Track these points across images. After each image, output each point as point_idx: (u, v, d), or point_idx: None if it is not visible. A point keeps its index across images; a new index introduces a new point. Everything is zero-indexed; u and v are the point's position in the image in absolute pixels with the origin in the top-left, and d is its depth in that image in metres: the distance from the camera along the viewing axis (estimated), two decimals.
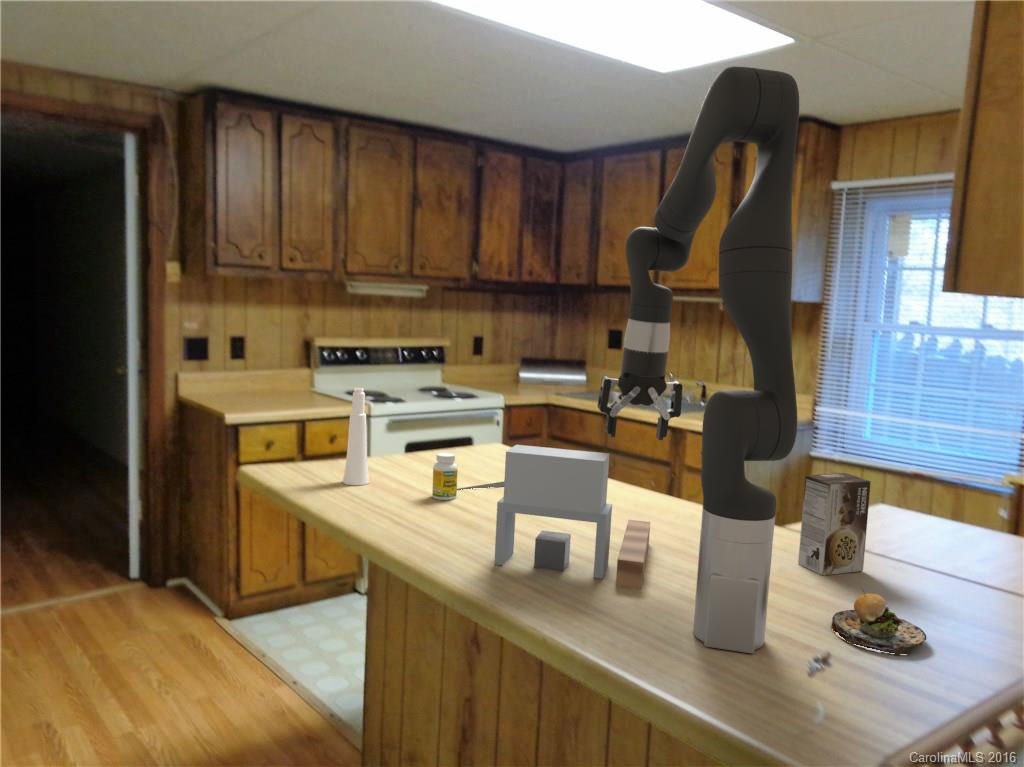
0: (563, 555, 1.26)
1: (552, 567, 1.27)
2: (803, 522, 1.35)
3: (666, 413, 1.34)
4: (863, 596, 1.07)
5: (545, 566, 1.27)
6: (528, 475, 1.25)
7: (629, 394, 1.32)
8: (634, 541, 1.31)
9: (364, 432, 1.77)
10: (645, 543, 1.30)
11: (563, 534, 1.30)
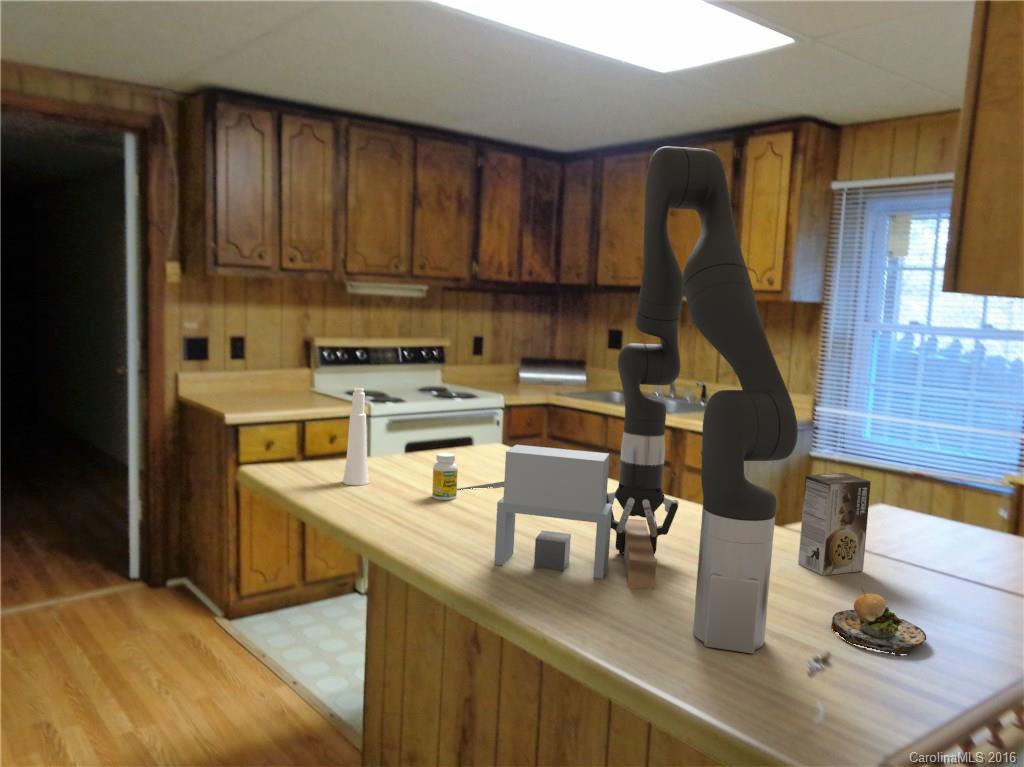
0: (563, 555, 1.26)
1: (552, 567, 1.27)
2: (803, 522, 1.35)
3: (654, 530, 1.34)
4: (863, 596, 1.07)
5: (545, 566, 1.27)
6: (528, 475, 1.25)
7: (626, 507, 1.34)
8: (638, 540, 1.30)
9: (364, 432, 1.77)
10: (649, 542, 1.30)
11: (563, 534, 1.30)
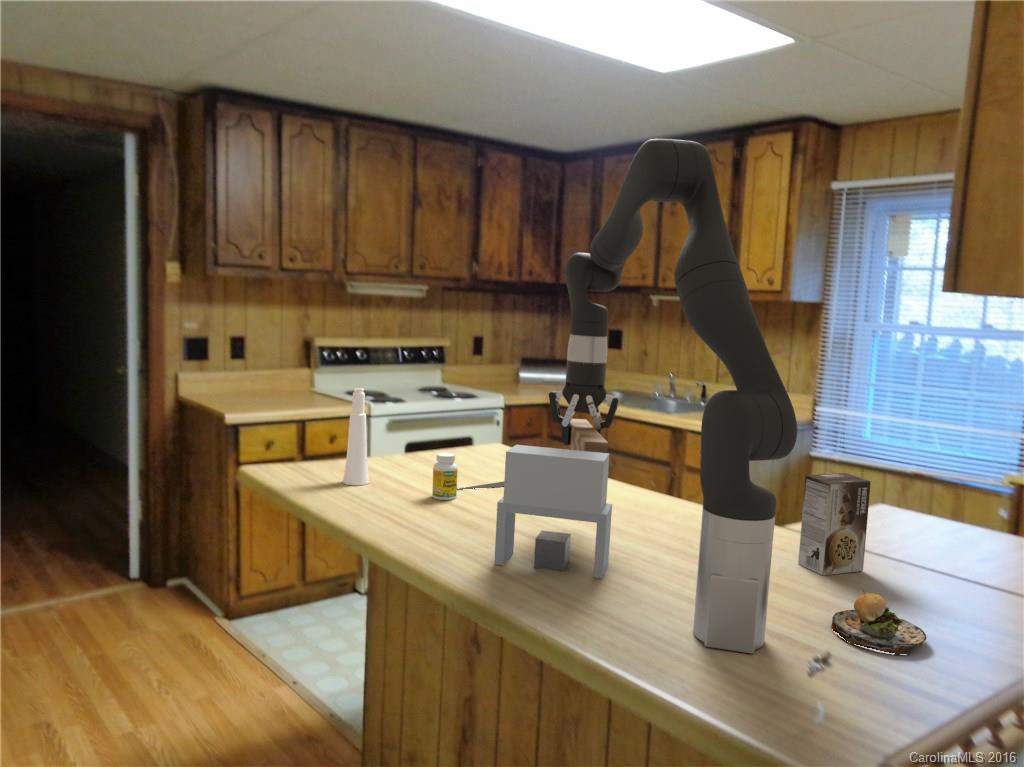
0: (563, 555, 1.26)
1: (552, 567, 1.27)
2: (803, 522, 1.35)
3: (598, 423, 1.47)
4: (863, 596, 1.07)
5: (545, 566, 1.27)
6: (528, 475, 1.25)
7: (571, 403, 1.48)
8: (586, 430, 1.44)
9: (364, 432, 1.77)
10: (596, 431, 1.43)
11: (563, 534, 1.30)
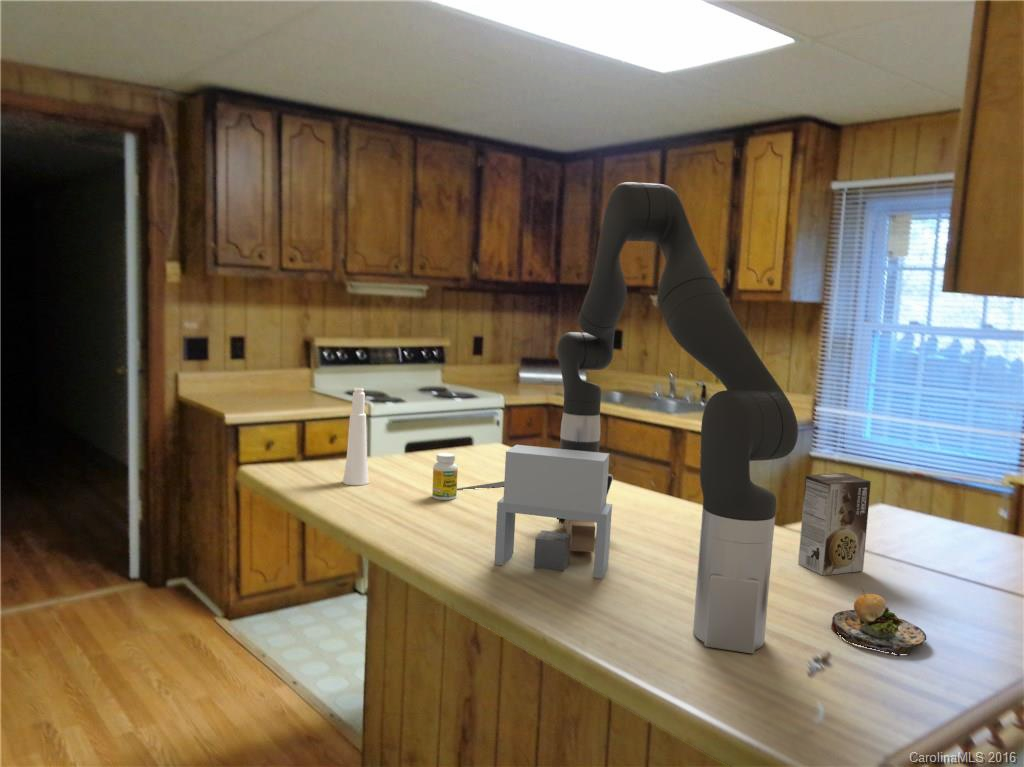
0: (563, 555, 1.26)
1: (552, 567, 1.27)
2: (803, 522, 1.35)
3: None
4: (863, 596, 1.07)
5: (545, 566, 1.27)
6: (528, 475, 1.25)
7: None
8: None
9: (364, 432, 1.77)
10: None
11: (563, 534, 1.30)
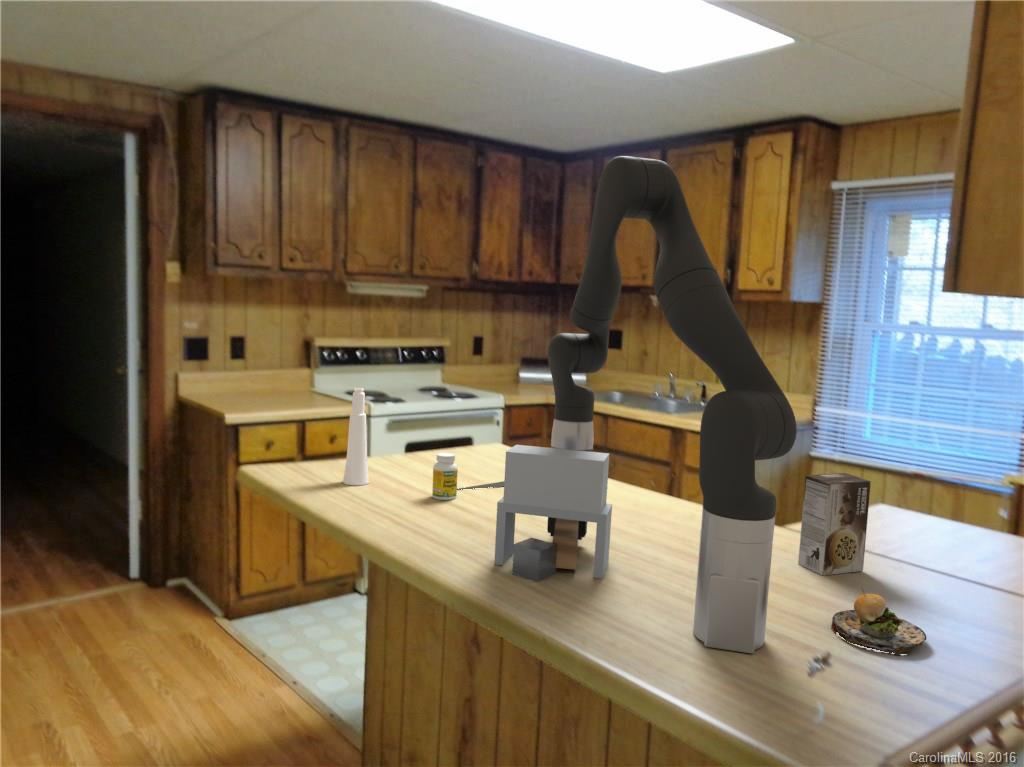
0: (537, 564, 1.21)
1: (528, 576, 1.22)
2: (803, 522, 1.35)
3: None
4: (863, 596, 1.07)
5: (522, 574, 1.22)
6: (528, 475, 1.25)
7: None
8: (566, 523, 1.35)
9: (364, 432, 1.77)
10: (577, 525, 1.34)
11: (548, 543, 1.24)
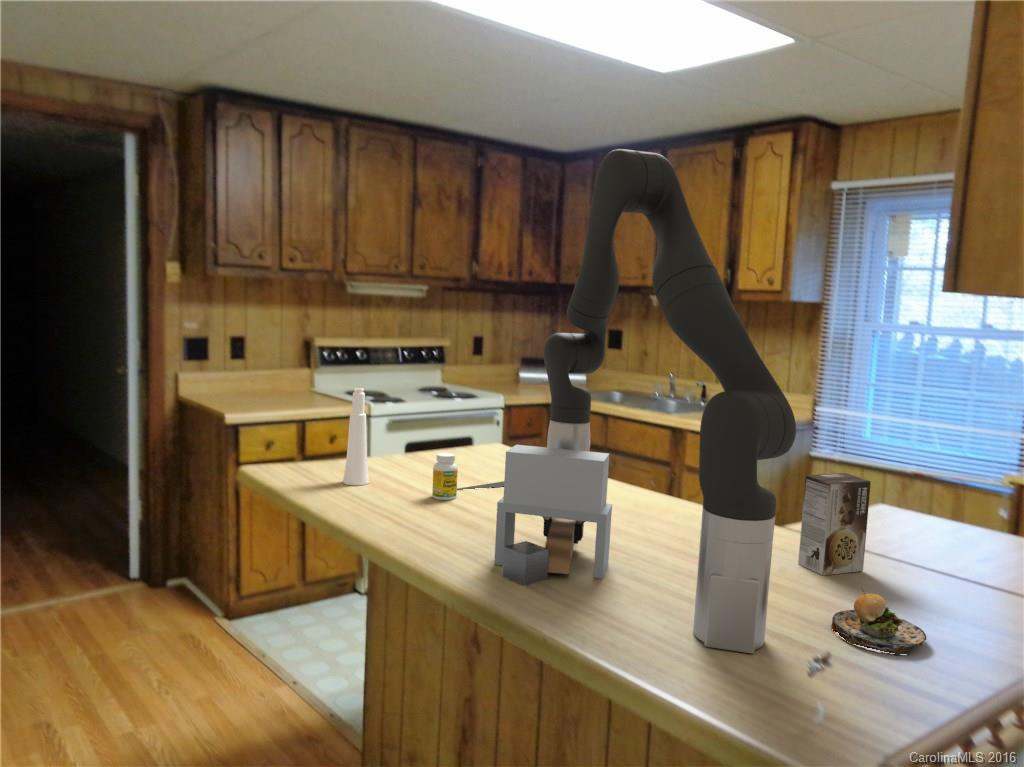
0: (524, 568, 1.19)
1: (516, 579, 1.20)
2: (803, 522, 1.35)
3: None
4: (863, 596, 1.07)
5: (511, 577, 1.21)
6: (528, 475, 1.25)
7: None
8: (561, 527, 1.32)
9: (364, 432, 1.77)
10: (572, 528, 1.32)
11: (540, 548, 1.22)
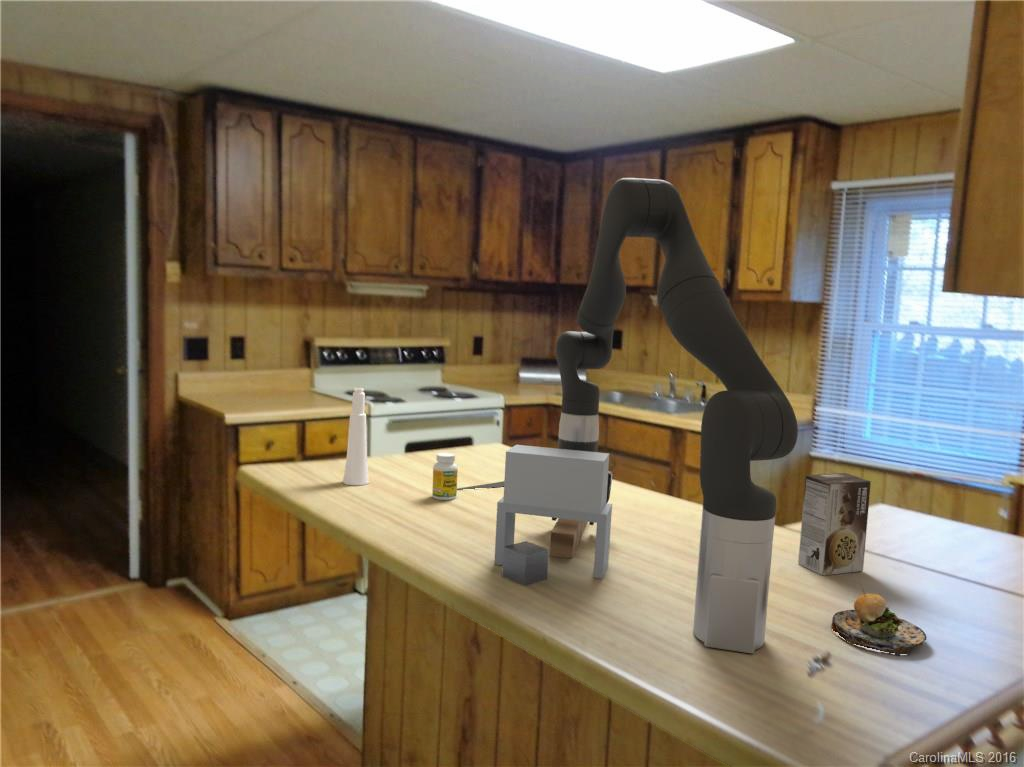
0: (524, 568, 1.19)
1: (515, 579, 1.20)
2: (803, 522, 1.35)
3: None
4: (863, 596, 1.07)
5: (510, 577, 1.21)
6: (528, 475, 1.25)
7: None
8: None
9: (364, 432, 1.77)
10: None
11: (539, 548, 1.22)
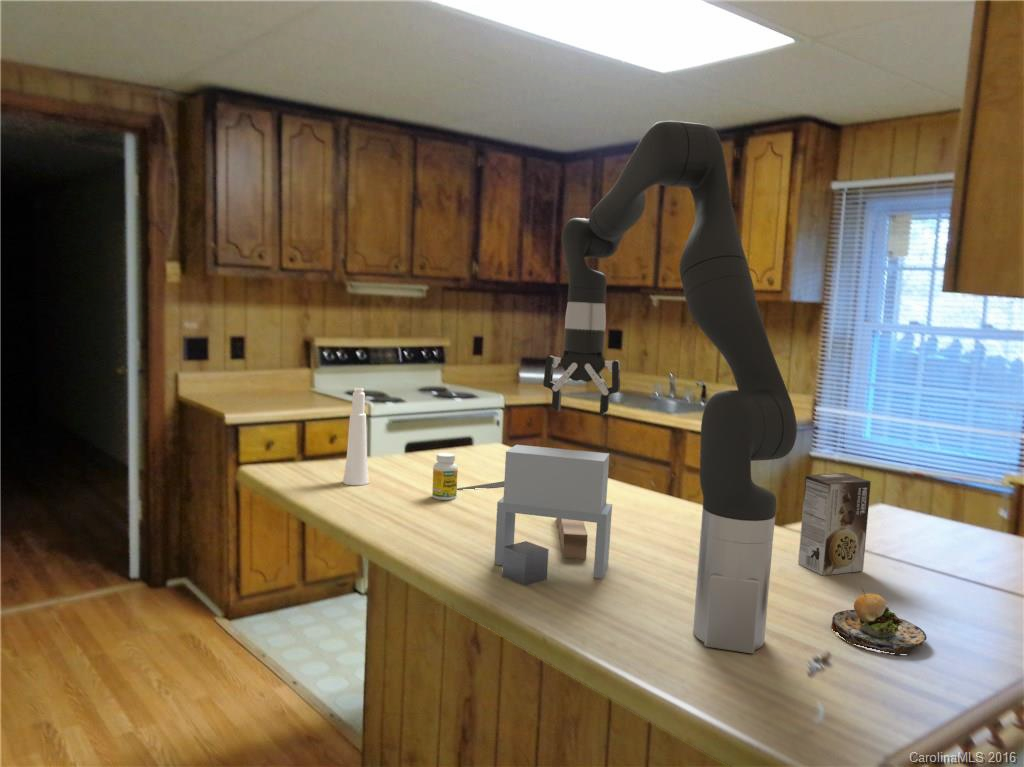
0: (524, 568, 1.19)
1: (515, 579, 1.20)
2: (803, 522, 1.35)
3: (604, 389, 1.44)
4: (863, 596, 1.07)
5: (510, 577, 1.21)
6: (528, 475, 1.25)
7: (568, 370, 1.45)
8: None
9: (364, 432, 1.77)
10: None
11: (539, 548, 1.22)
